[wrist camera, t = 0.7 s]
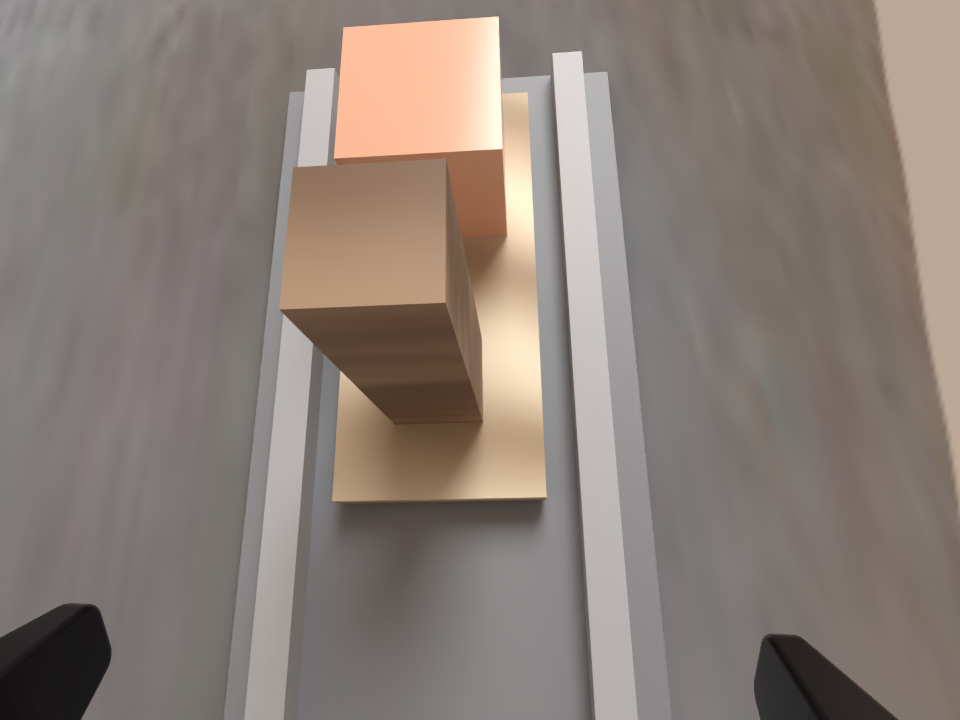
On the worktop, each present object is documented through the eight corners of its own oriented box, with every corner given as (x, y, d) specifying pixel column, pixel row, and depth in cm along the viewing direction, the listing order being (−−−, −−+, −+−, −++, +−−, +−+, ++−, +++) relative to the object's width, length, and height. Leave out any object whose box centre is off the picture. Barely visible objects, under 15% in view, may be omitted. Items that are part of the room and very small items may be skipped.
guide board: (685, 924, 17) (706, 975, 15) (217, 913, 18) (177, 959, 16) (604, 88, 27) (610, 49, 24) (298, 108, 27) (279, 71, 25)
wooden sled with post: (545, 499, 20) (568, 440, 10) (340, 504, 20) (149, 452, 10) (527, 109, 25) (529, -210, 15) (363, 120, 25) (250, -183, 15)
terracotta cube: (507, 236, 22) (502, 148, 17) (374, 242, 22) (333, 158, 18) (503, 124, 24) (498, 16, 19) (379, 131, 24) (343, 27, 19)
